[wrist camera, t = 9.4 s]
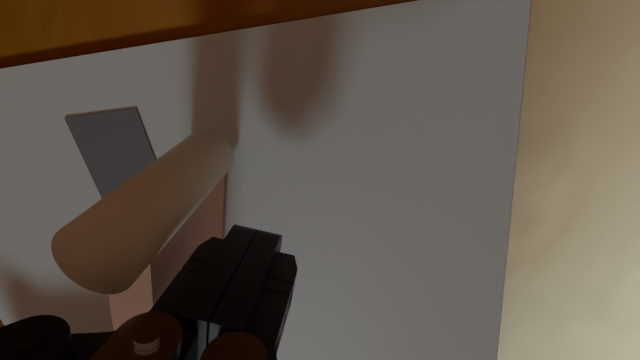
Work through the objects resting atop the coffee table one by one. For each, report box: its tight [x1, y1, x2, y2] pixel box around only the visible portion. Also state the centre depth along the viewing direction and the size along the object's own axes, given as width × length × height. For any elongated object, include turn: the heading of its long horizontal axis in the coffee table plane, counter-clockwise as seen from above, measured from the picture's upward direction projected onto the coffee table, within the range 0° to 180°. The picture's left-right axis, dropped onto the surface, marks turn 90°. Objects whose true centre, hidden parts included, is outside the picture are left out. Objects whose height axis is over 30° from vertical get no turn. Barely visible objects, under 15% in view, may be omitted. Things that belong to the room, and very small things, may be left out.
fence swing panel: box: [51, 130, 234, 331], centre depth 12 cm, size 12×2×6 cm, turn 171°
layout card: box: [0, 0, 531, 360], centre depth 16 cm, size 26×21×1 cm
